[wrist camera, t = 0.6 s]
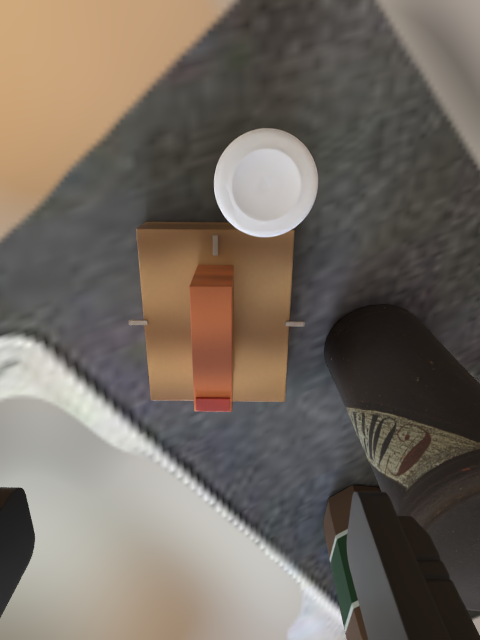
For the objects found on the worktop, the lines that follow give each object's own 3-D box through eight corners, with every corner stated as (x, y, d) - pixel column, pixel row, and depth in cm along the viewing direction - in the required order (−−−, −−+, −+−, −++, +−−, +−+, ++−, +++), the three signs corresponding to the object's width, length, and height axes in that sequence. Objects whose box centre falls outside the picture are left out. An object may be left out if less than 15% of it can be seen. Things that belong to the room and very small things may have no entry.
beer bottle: (391, 474, 41) (566, 862, 19) (402, 530, 44) (566, 925, 22) (313, 491, 42) (392, 881, 20) (329, 545, 45) (414, 939, 22)
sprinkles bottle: (298, 148, 30) (337, 149, 17) (275, 211, 31) (296, 253, 19) (236, 126, 29) (232, 110, 17) (217, 190, 31) (199, 220, 18)
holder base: (130, 221, 32) (119, 228, 29) (304, 222, 32) (311, 230, 29) (145, 381, 37) (136, 401, 34) (294, 383, 37) (298, 403, 34)
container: (315, 310, 34) (398, 501, 16) (426, 289, 34) (649, 463, 15) (328, 398, 38) (411, 642, 19) (430, 380, 37) (619, 617, 18)
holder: (197, 264, 30) (188, 287, 25) (233, 264, 30) (232, 287, 25) (201, 374, 33) (193, 413, 28) (233, 375, 33) (232, 414, 28)
